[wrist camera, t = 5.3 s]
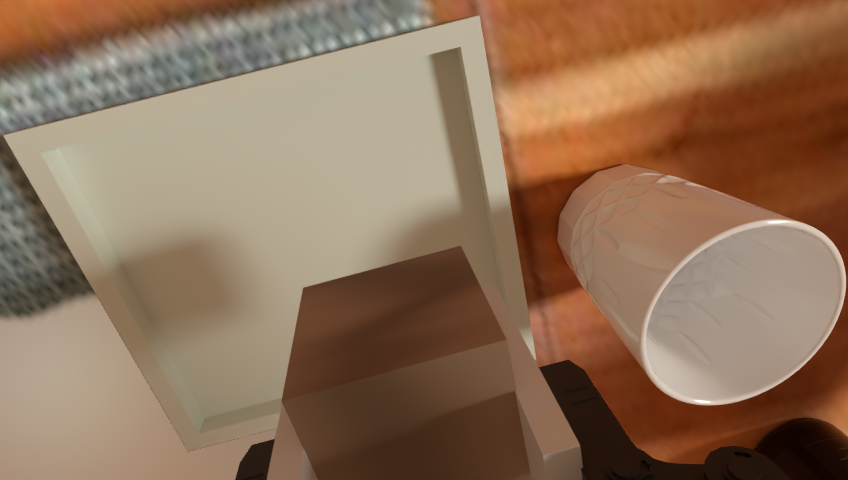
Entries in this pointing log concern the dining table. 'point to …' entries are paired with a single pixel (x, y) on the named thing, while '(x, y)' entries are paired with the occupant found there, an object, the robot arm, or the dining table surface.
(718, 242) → the white cup
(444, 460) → the walnut block
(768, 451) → the supplement bottle
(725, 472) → the robot arm
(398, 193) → the tray
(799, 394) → the dining table surface
